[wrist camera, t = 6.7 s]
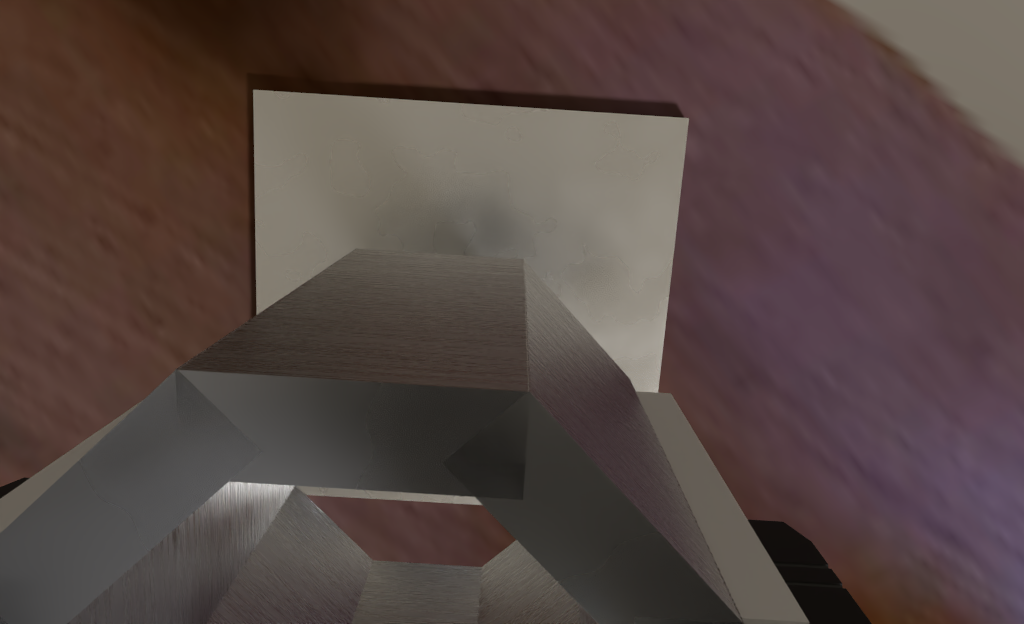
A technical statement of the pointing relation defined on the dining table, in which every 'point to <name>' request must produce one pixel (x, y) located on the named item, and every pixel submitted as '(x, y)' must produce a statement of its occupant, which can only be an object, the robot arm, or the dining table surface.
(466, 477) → the grey hollow octagonal block
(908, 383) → the dining table surface
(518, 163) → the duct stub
